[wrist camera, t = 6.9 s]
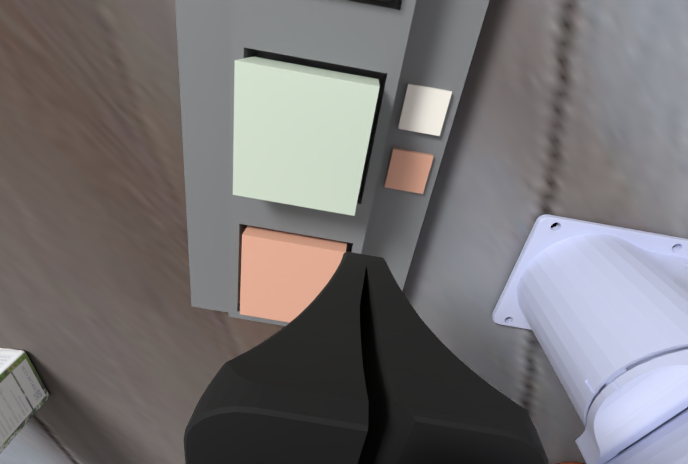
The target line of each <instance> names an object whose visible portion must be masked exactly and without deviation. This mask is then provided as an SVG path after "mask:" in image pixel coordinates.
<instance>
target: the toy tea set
mask: <svg viewBox="0 0 688 464" xmlns="http://www.w3.org/2000/svg"><path fill="white" fill-rule="evenodd" d="M557 464H583V463H578V462H563V463H557Z"/></svg>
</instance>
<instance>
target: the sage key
mask: <svg viewBox="0 0 688 464" xmlns="http://www.w3.org/2000/svg"><path fill="white" fill-rule="evenodd" d="M379 87H380V86H379V79H376V78H371V77H365V76H360V75H354V74H349V73H343V72H338V71H332V70H327V69H321V68H316V67H310V66H305V65H299V64H294V63H288V62H283V61H277V60H272V59H266V58H261V57H255V56H254V57H249V58H243V59H238V60H235V70H234V140H233V195H237V196H243V197H249V198H254V199H260V200H266V201H272V202H277V203H283V204H289V205H295V206H300V207H306V208H312V209H318V210H323V211H329V212H335V213H341V214H346V215H352V216H354V215H355V210H356V205H357V200H358V195H359V190H360V185H361V180H362V174H363V169H364V164H365V159H366V154H367V149H368V144H369V139H370V134H371V128H372V123H373V118H374V113H375V108H376V103H377V98H378V93H379Z"/></svg>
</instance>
